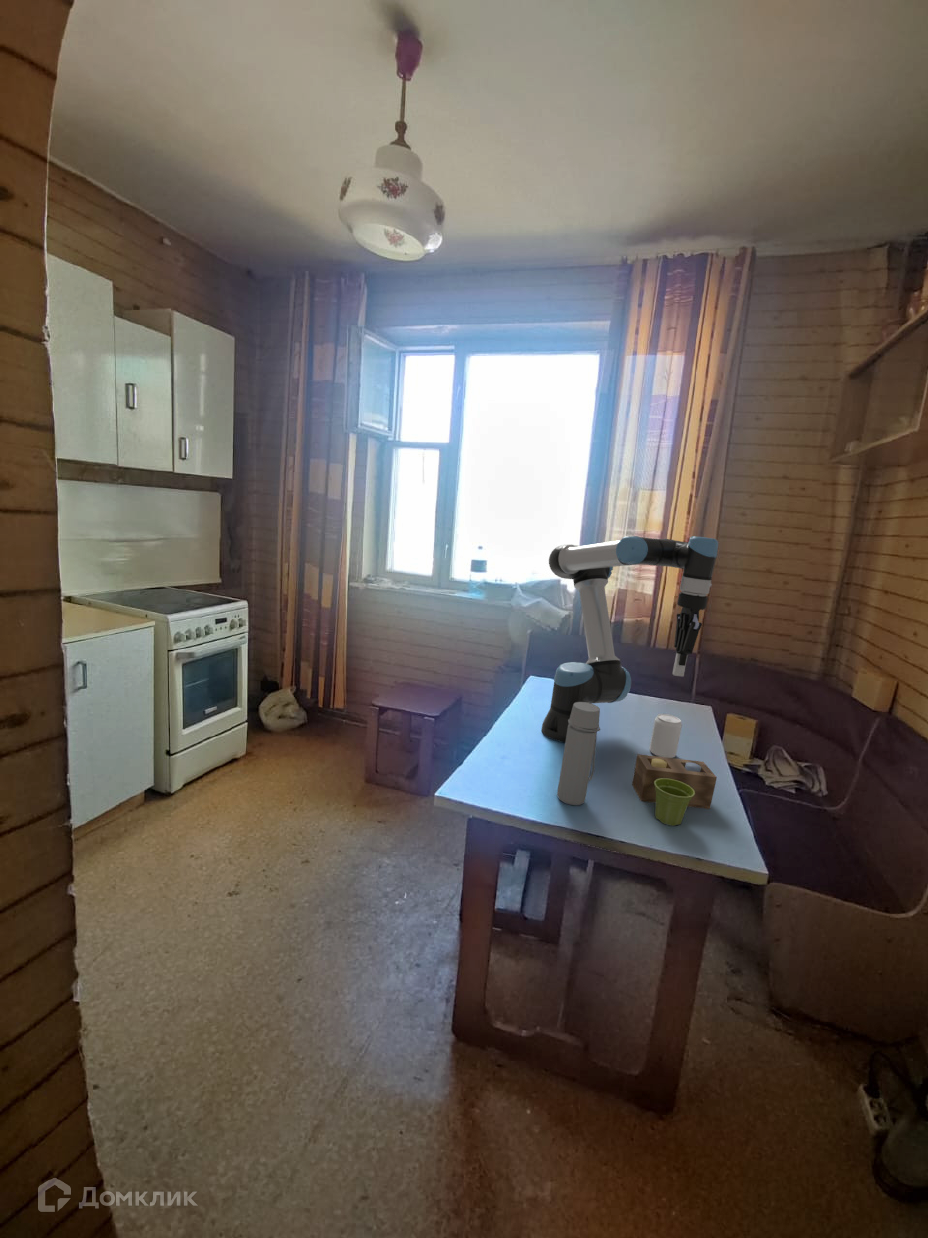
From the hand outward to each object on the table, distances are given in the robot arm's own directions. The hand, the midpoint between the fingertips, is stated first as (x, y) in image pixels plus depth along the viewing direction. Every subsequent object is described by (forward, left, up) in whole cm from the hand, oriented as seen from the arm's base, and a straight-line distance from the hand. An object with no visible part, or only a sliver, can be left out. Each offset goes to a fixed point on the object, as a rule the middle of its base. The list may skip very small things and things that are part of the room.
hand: (677, 675), depth 163 cm
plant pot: (-6, -28, -30) cm, 41 cm away
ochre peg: (-7, -15, -28) cm, 33 cm away
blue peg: (+2, -15, -28) cm, 32 cm away
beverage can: (+5, +13, -30) cm, 33 cm away
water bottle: (-29, -23, -30) cm, 47 cm away
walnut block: (-2, -16, -29) cm, 33 cm away
